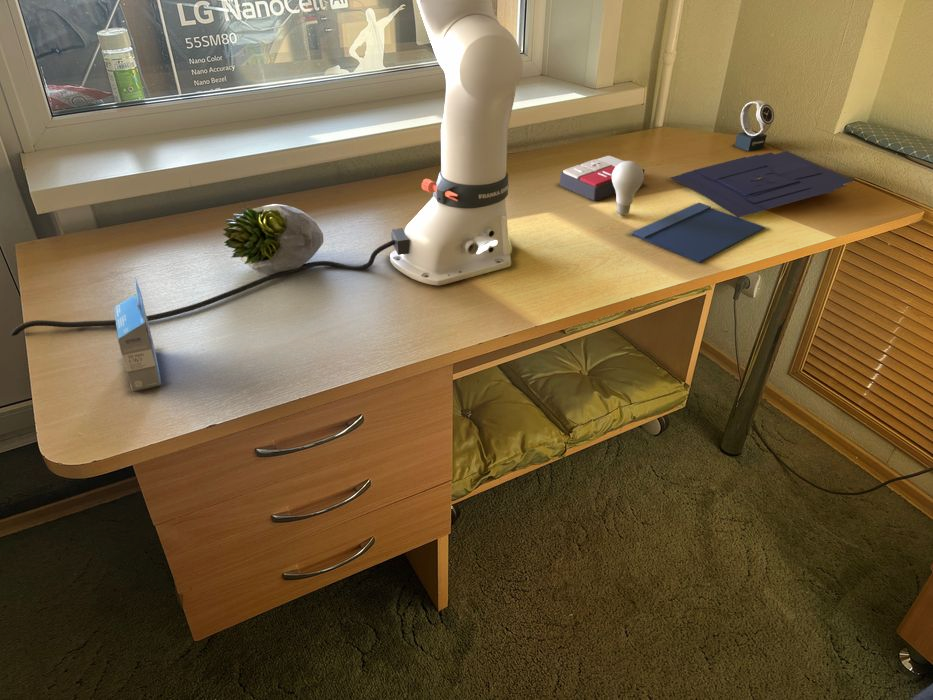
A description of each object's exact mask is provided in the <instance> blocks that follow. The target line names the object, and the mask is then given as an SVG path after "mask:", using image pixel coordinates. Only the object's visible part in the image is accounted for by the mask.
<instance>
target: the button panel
mask: <svg viewBox="0 0 933 700" xmlns="http://www.w3.org/2000/svg"><path fill="white" fill-rule="evenodd" d="M624 161H625V160H622V159H619V158H617V157H614V156H612V155H605V156H602V157H599V158H597V159H596V158H594V159H592V160H588V161H585V162H583V163H581V164H577V165H574V166H571V167H568V168H566V169H563V171H561V172H559V186H560V187H562V188H564V189H567V190H569V191H571V192H573V193H575V194H578V195H580V196H582V197H584V198H587V199H590V200H592V201H595V202H597V201H599V200H601V199H604V198H607V197H609V196H612V195H614V194H615V195H616V191H615V188H614V186H613V183H612V173H613V170H614V168H615V167H616V166H617V165H618V164H619V163H621V162H624ZM642 170H643V173H644V174H645V171H646V170H645V169H644V168H642ZM643 185H644V182H643V183H642V185H641V186H640V187H642V186H643Z"/></svg>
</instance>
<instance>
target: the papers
mask: <svg viewBox="0 0 933 700" xmlns="http://www.w3.org/2000/svg"><path fill="white" fill-rule="evenodd" d="M669 179H671V180H673V181H675V182H677V183H679V184H681V186H682V185H683V186H684V187H686V188H688V189H690V190H691V191H694V192H696V193H698V194H699V195H701V196H703V197H705V198H706V199H708V200H709V201H710V202H713V203H715V204H716V205H718V206H719V207H721V209H724V210H725V211H727V212H728V213H730V214H731V215H732V216H735V217H738V218H741V217H745V216H750V215H754V214H757V213H761V212H764V211H769V210H770V209H774V208H777V207H781V206H784V205H788V204H792V203H795V202H798V201H802V200H807V199H809V198H813V197H817V196H822V195H826V194H829V193H832V192H836V190H838V189H842V188H847V185H846V184H849V183H853V182H856V180H855V179H852V178H850V177H849V176H848V177H847V176H845V175H843V174H840V173H838V172H836V171H833V170H832V169H831V170H830V169H829V168H826V167H824V166H822V165H819V164H816V163H814V162H812V161H810V160H808V159H805V158H803V157H801V156H799V155H796V154H794V153H793V152H790V151H787V150H786V151H782V152H778V153H774V152H767V153H763V154H755V155H754V154H753V155H750V156H744V157H740V158H735V159H732V160H728V161H724V162H720V163H716V164H712V165H708V166H703V167H700V168H697V169H693V170H690V171H687V172H683V173H681V174H678V175H674V176H671V177H669Z"/></svg>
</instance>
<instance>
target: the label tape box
mask: <svg viewBox="0 0 933 700" xmlns="http://www.w3.org/2000/svg"><path fill="white" fill-rule="evenodd" d="M133 278H134V283H135V293H136V294H134V295H131V297H128V298H127V299H125V300H123V301H122V302H120V303H118V304H117V305H115V306H114V309H113V310H114V318H115V319H114V320H116V325H115V327H116V336H117V343H118V346H119V350H120V354H121V356H122V361H123V364H124V367H125V372H126V374H127V378H128V381H129V386H130V388H131V391H132V392H134V391H141V390H147V389H150V388H155V387H158V386H161V385H162V381H161V380H162V379H161V373H160V368H159V363H158V358H157V353H156V349H155V345H154V341H153V336H152V332H151V328H150V324H149V321H148V320H147V316H148V315H147V313H146V308H145V306H144V300H143V295H142V292H141V288H140V286H139V284H138V280H137V278H136V276H135V275H134V276H133Z"/></svg>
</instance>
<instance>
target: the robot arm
mask: <svg viewBox="0 0 933 700" xmlns="http://www.w3.org/2000/svg"><path fill="white" fill-rule="evenodd" d="M416 2H417V5H418V9H419V12H420V15H421V17H422V21H423V24H424V27H425V30H426V32H427V35H428V39H429V41H430V44H431V47H432V51H433V53H434V56H435V58H436V61H437V63H438V65H439V67H440V68H441V70H443V72H444V77H445V97H444V98H445V99H444V108H443V117H442V122H441V125H440V172H439V173H438V176H437V179H436V181H433V180H431V179H430V178H425V179H423V180H422V182H421V184H420V185H421V189H422V190H423V191H424V192H428V193H429V194H432V197H431V198H430V200H429V201H428V202H427V203H426V204H425V205H424V207H422V209H420V211H419V212H418V213H417V214H416V215H415V216H414V217H413V218H412V219H411V220H410V222H409V223H408V224H406V226H405V229H403V227H402V228H401V227H400V228H391V229H390V235H391V237H390V238H391V240H390V241H387V242H385V243H383V244H381V245H379V246H378V247H377V248H376V249H374V250H373V251H372V253H371V255H370V257H369V260H368V261H367V262H366V263H364V264H360V265H349V264H344V263H340V262H336V261H330V260H316V261H310V262H306V263H305V264H303V265H302V266H301V267H300V268H296V269H292V270H287V271H282V272H278V273H274V274H272V275H268V276H267V275H265V276H264V277H261V278H258V279H256V280H254V281H251V282H249V283H245V284H244V285H242V286H239V287H236V288H234V289H230V290H228V291H226V292H223V293H220V294H218V295H215V296H213V297H210V298H208V299H205V300H202V301H199V302H195V303H193V304H189V305H186V306H183V307H179V308H175V309H171V310H168V311H164V312H159V313H154V314H150V315H146V316H147V320H148V322H151V321H156V320H162V319H166V318H170V317H174V316H177V315H181V314H185V313H188V312H191V311H194V310H197V309H200V308H203V307H206V306H208V305H209V306H210V305H211V304H214V303H216V302H219V301H222V300H224V299H227V298H230V297H232V296H235V295H238V294H240V293H243V292H245V291H248V290H250V289H252V288H254V287H257V286H259V285H262V284H264V283H267V282H269V281H273V280H275V279H278V278H281V277H283V276H286V275H289V274H292V273H295V272H298V271H300V270H301V271H302V270H304V269H309V268H314V267H321V266H323V267H333V268H337V269H345V270H352V271H364V270H366V269H369V268H371V267H372V266H373V264H374V262H375V259H376V257H377V256H378V255H379V254H380V253H381V252H382V251H384V250H386V249H388V248H390V247H392V246H393V248H394V250H393V251H391V252H390V254H389V261H390V263H391V265H392V266H393V267H394V268H395V269H397V270H398V271H399V272H400V273H402V274H404V276H407V277H409V278H410V279H412V280H414V281H417V282H420V283H423V284H426V285H431V286H437V287H438V286H444V285H447V284H448V285H449V284H451V283H455V282H458V281H463V280H466V279H469V278H474V277H477V276H480V275H481V276H482V275H485V274H489V273H492V272H495V271H498V270H503V269H506V268H509V267H511V266H512V258H511V254H512V252H513V246H512V243H511V239H510V234H509V227H508V226H509V225H508V215H507V197H508V195H509V185H510V184H509V173H508V171H507V162H508V157H507V156H508V139H509V128H510V120H511V116H512V111H513V108H514V107H513V106H514V103H515V97H516V91H517V87H518V86H519V84H520V81H521V78H522V75H523V59H522V53H521V50H520V47H519V45H518V42H517V40H516V38H515V37H514V34H513V33H512V32H511V31H509V30H508V29H507V28H506V27H505V26H503V25H502V24H501V23H500V20H498V18H497V16H496V13H495V10H494V6H493V2H492V0H416ZM111 326H116V319H109V320H108V319H107V320H84V321H83V320H82V321H57V320H44V319H43V320H42V319H40V320H39V319H38V320H37V319H36V320H29V321H25V322H23V323H21V324H19V325H18V326H17V325H16V327H15V328H14V329H12V331H11V332H10V334H9V335H10V337H14V336H17V335H19V334H20V333H21V332H22V331H23V330H25V329H29V328H32V327H54V328H86V327H87V328H88V327H89V328H90V327H111Z"/></svg>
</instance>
